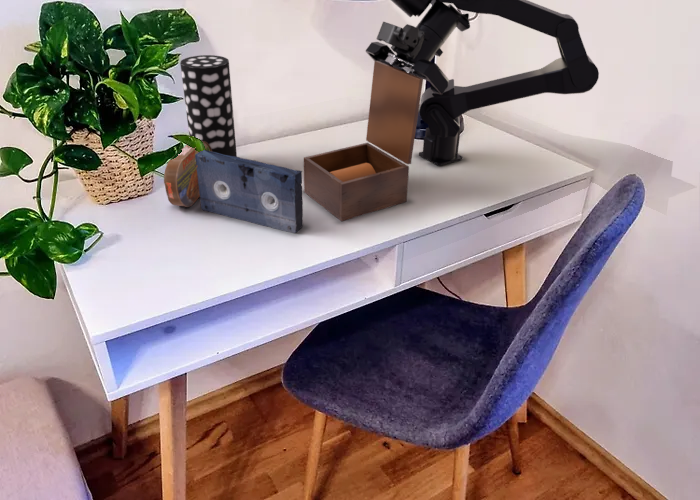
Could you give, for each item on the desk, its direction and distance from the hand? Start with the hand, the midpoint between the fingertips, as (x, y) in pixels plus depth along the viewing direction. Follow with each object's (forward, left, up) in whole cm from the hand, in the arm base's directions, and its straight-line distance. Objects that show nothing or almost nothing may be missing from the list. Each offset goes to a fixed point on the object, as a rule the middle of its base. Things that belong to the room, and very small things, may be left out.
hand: (377, 104), depth 112 cm
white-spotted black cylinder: (+25, -17, -13) cm, 33 cm away
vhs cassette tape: (+28, +5, -13) cm, 31 cm away
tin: (+33, -8, -13) cm, 37 cm away
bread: (+10, +7, -12) cm, 18 cm away
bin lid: (+2, +7, +1) cm, 8 cm away
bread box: (+9, +7, -13) cm, 18 cm away
